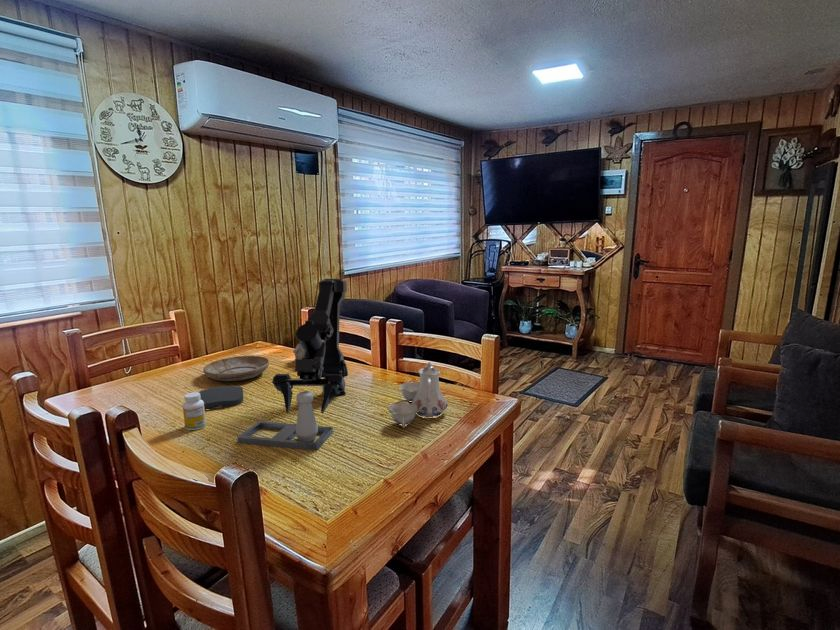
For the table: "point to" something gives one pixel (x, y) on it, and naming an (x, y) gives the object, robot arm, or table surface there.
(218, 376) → the ceramic bowl
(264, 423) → the hole plate
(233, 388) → the media streaming box
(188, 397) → the supplement bottle
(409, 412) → the chinaware
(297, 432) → the salt shaker
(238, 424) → the table surface
